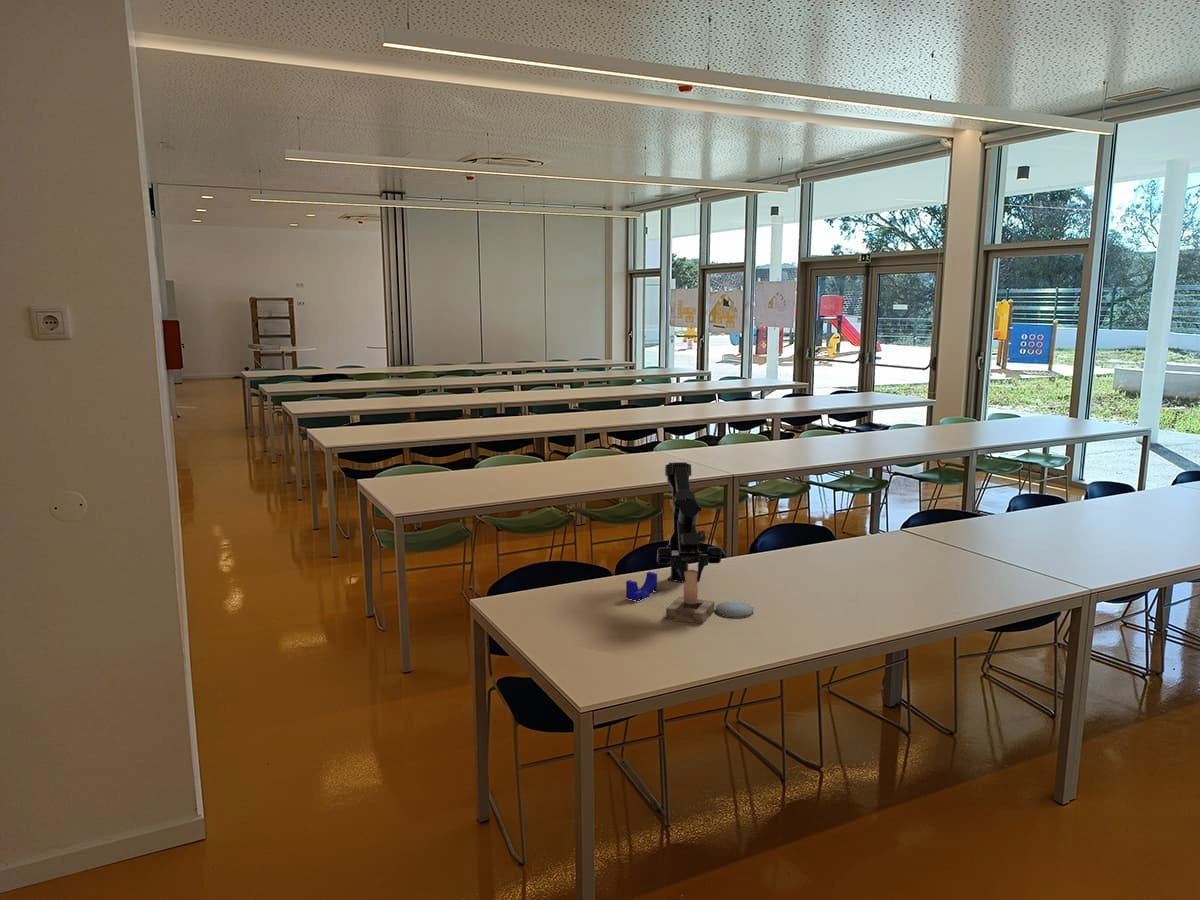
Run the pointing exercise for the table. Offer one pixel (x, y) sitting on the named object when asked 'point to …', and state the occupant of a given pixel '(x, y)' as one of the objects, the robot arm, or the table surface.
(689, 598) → the post
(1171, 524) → the table surface
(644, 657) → the table surface
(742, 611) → the slate mat
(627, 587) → the cable clip
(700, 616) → the pocket block
